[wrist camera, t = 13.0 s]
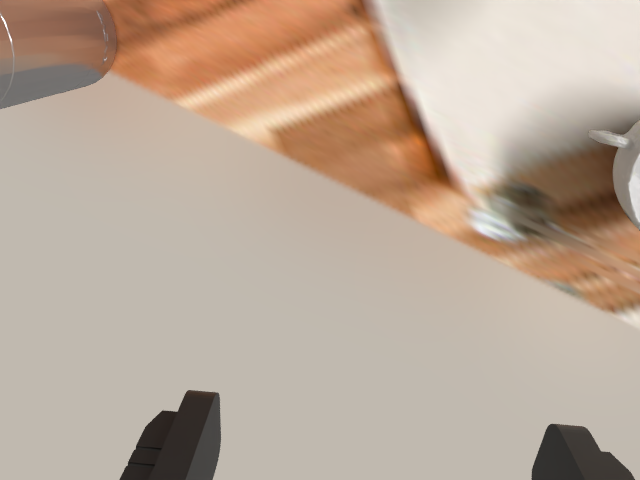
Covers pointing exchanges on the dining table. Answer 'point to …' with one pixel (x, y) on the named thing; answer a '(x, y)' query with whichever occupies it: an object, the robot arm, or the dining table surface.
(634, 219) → the teacup
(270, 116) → the dining table surface
